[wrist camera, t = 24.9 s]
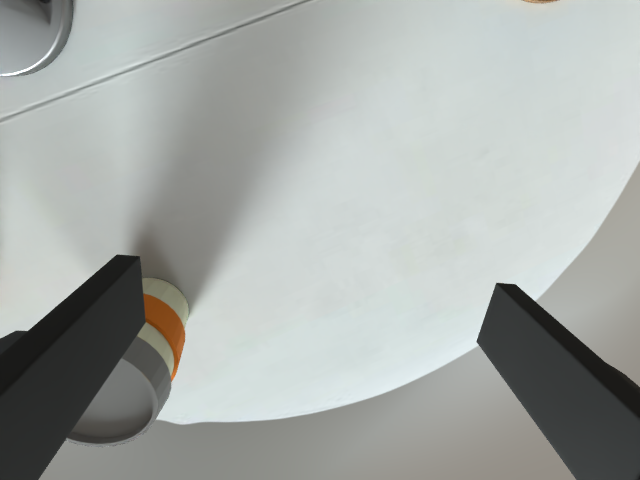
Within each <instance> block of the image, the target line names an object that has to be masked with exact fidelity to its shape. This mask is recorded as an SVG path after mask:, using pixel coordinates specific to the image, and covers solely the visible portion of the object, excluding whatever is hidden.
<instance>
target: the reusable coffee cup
mask: <svg viewBox="0 0 640 480" xmlns="http://www.w3.org/2000/svg"><path fill="white" fill-rule="evenodd" d="M142 284H143V296H144V307H145V318H146V323H145V324H144V326H143V327H142V329H141V330H140V332H139V333H138V335H137V336H136V338H135V339H134V340H133V342H132V343H131V345H130V346H129V348H128V349H127V351H126V352H125V354H124V355H123V357H122V358H121V359H120V361H119V362H118V364H117V365H116V367H115V368H114V370H113V371H112V373H111V374H110V376H109V377H108V378H107V380H106V381H105V383H104V384H103V386H102V387H101V389H100V390H99V392H98V393H97V394H96V396H95V397H94V399H93V400H92V402H91V403H90V405H89V406H88V408H87V409H86V411H85V412H84V413H83V415H82V416H81V418H80V419H79V421H78V422H77V424H76V425H75V427H74V428H73V430H72V431H71V432H70V434H69V435H68V437H67V438H66V440H65V441H69V442H71V443H75V444H80V445H85V446H95V447H106V446H116V445H120V444H125V443H127V442H130V441H132V440H135V439H136V438H138V437H140V436H141V435H143V434H144V433H145V432H146V431H147V430H148V429H149V428H150V427H151V426H152V424H153V422H154V421H155V419H156V418H157V416H158V414H159V412H160V411H161V409H162V407H163V406H164V404H165V402H166V401H167V399H168V397H169V394H170V390H171V382H172V380H173V378H174V377H175V375H176V372H177V368H178V365H179V361H180V357H181V354H182V350H183V346H184V342H185V330H184V329H185V325H186V322H187V318H188V315H189V308H188V303H187V301H186V299H185V297H184V295H183V294H182V293H181V292H180V291H179V290H178V289H177V288H176V287H175V286H173V285H172V284H170V283H168V282H166V281H164V280H160V279H156V278H142Z"/></svg>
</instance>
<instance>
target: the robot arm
mask: <svg viewBox="0 0 640 480" xmlns="http://www.w3.org/2000/svg"><path fill="white" fill-rule="evenodd" d="M72 18H73V1H72V0H0V76H22V75H27V74H31V73H34V72H36V71H39V70H41V69H43V68H44V67H46V66H47V65H49V64H50V63H51V62H52V61H53V60H54V59H55V58H56V57H57V56H58V55H59V54H60V52H61V51H62V49H63V48H64V46H65V44H66V42H67V39H68V37H69V34H70V30H71V25H72ZM145 323H146V318H145V307H144V296H143V284H142V273H141V262H140V256H129V255H116V256H115V257H114V258H113V259H111V260H110V261H109V262H108V263H107V264H106V265H104V266H103V267H102V268H101V269H100V270H99V271H97V272H96V273H95V274H94V275H93V276H92V277H90V278H89V279H88V280H87V281H86V282H85V283H83V284H82V285H81V286H80V287H79V288H78V289H76V290H75V291H74V292H73V293H72V294H71V295H69V296H68V297H67V298H66V299H65V300H64V301H62V302H61V303H60V304H59V305H58V306H57V307H55V308H54V309H53V310H52V311H51V312H50V313H48V314H47V315H46V316H45V317H44V318H43V319H42V320H40V321H39V322H38V323H37V324H36V325H35V326H33V327H32V328H31V329H30V330H29V331H15V332H13V333H11V334H9V335H7V336H5V337H3V338H1V339H0V480H38V479H39V478H40V476H41V475H42V473H43V472H44V470H45V469H46V467H47V466H48V465H49V463H50V461H51V460H52V459H53V457H54V456H55V454H56V453H57V451H58V450H59V448H60V447H61V446H62V444H63V443H64V441H65V440H66V438H67V437H68V435H69V434H70V432H71V431H72V430H73V428H74V427H75V425H76V424H77V422H78V421H79V419H80V418H81V416H82V415H83V413H84V412H85V411H86V409H87V408H88V406H89V405H90V403H91V402H92V400H93V399H94V397H95V396H96V394H97V393H98V392H99V390H100V389H101V387H102V386H103V384H104V383H105V381H106V380H107V378H108V377H109V376H110V374H111V373H112V371H113V370H114V368H115V367H116V365H117V364H118V362H119V361H120V359H121V358H122V357H123V355H124V354H125V352H126V351H127V349H128V348H129V346H130V345H131V343H132V342H133V340H134V339H135V338H136V336H137V335H138V333H139V332H140V330H141V329H142V327H143V326H144V324H145ZM477 343H478V344H479V346H480V347H481V348H482V350H483V351H484V352H485V354H486V355H487V357H488V358H489V359H490V361H491V362H492V364H493V365H494V366H495V368H496V369H497V371H498V372H499V373H500V375H501V376H502V377H503V379H504V380H505V382H506V383H507V384H508V386H509V387H510V389H511V390H512V391H513V393H514V394H515V395H516V397H517V398H518V400H519V401H520V402H521V404H522V405H523V406H524V408H525V409H526V411H527V412H528V413H529V415H530V416H531V417H532V419H533V420H534V422H535V423H536V424H537V426H538V427H539V429H540V430H541V431H542V433H543V434H544V435H545V437H546V438H547V440H548V441H549V442H550V444H551V445H552V446H553V448H554V449H555V451H556V452H557V453H558V455H559V456H560V458H561V459H562V460H563V462H564V463H565V464H566V466H567V467H568V469H569V470H570V471H571V473H572V474H573V475H574V477H575V478H576V480H640V387H639V386H638V385H636V384H635V383H634V382H633V381H632V380H630V378H628V377H627V376H626V375H625V374H623V373H622V372H620V371H618V370H617V369H615V368H614V367H612V366H610V365H609V364H607V363H605V362H604V361H603V360H602V359H601V358H599V357H598V356H597V355H596V354H595V353H594V352H593V351H592V350H590V349H589V348H588V347H587V346H586V345H585V344H583V343H582V342H581V341H580V340H579V339H578V338H577V337H575V336H574V335H573V334H572V333H571V332H570V331H568V330H567V329H566V328H565V327H564V326H563V325H562V324H560V323H559V322H558V321H557V320H556V319H554V318H553V317H552V316H551V315H550V314H549V313H548V312H547V311H545V310H544V309H543V308H542V307H541V306H539V305H538V304H537V303H536V302H535V301H534V300H533V299H532V298H530V297H529V296H528V295H527V294H526V293H525V292H523V291H522V290H521V289H520V288H519V287H518V286H517V285H515V284H504V283H496V286H495V289H494V291H493V294H492V297H491V300H490V303H489V306H488V309H487V312H486V315H485V318H484V321H483V324H482V327H481V330H480V333H479V336H478V339H477Z"/></svg>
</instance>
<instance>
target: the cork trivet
mask: <svg viewBox="0 0 640 480" xmlns="http://www.w3.org/2000/svg"><path fill="white" fill-rule="evenodd" d="M523 1H526V2H531V3H550V2H555V1H558V0H523Z"/></svg>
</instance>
